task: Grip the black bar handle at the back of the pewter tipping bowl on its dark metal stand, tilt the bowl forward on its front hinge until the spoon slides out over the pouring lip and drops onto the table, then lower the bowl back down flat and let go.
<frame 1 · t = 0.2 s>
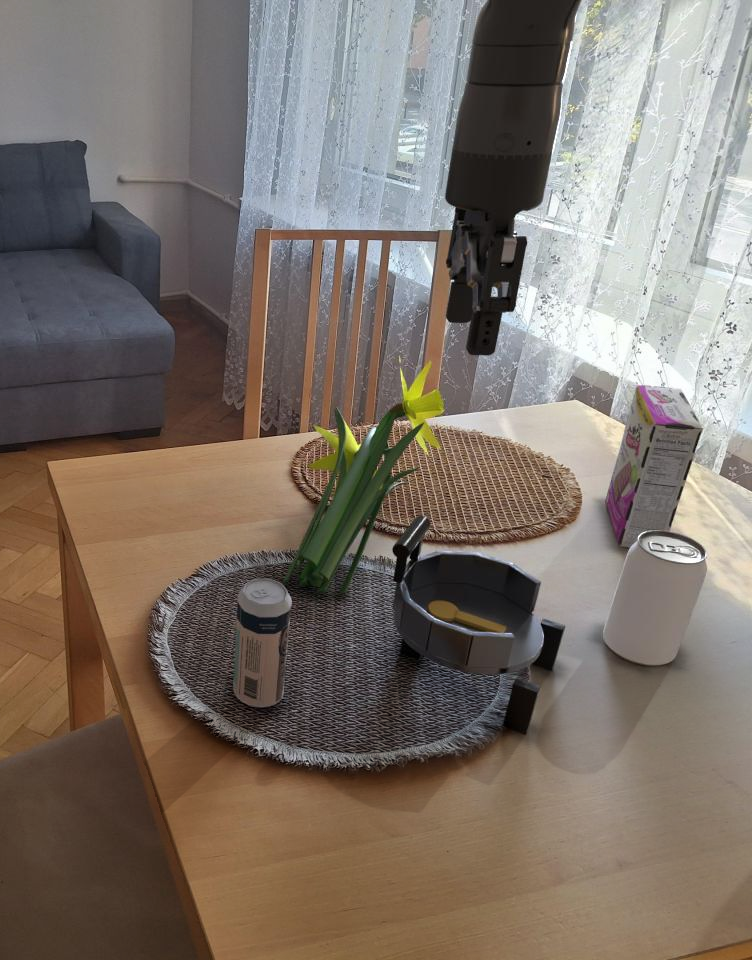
hand: (468, 336, 77), 31 cm above the table, tool pointing down, fingers open, 8 cm apart
bowl stand: (529, 694, 80), on the table
daffodil flowers: (358, 533, 106), on the table
candy bar box: (630, 528, 105), on the table
can: (637, 648, 86), on the table
bowl: (471, 589, 79), point 9 cm above the table, hinge at 0.0°, touching spoon
beer can: (258, 694, 82), on the table
spoon: (467, 620, 81), point 6 cm above the table, touching bowl
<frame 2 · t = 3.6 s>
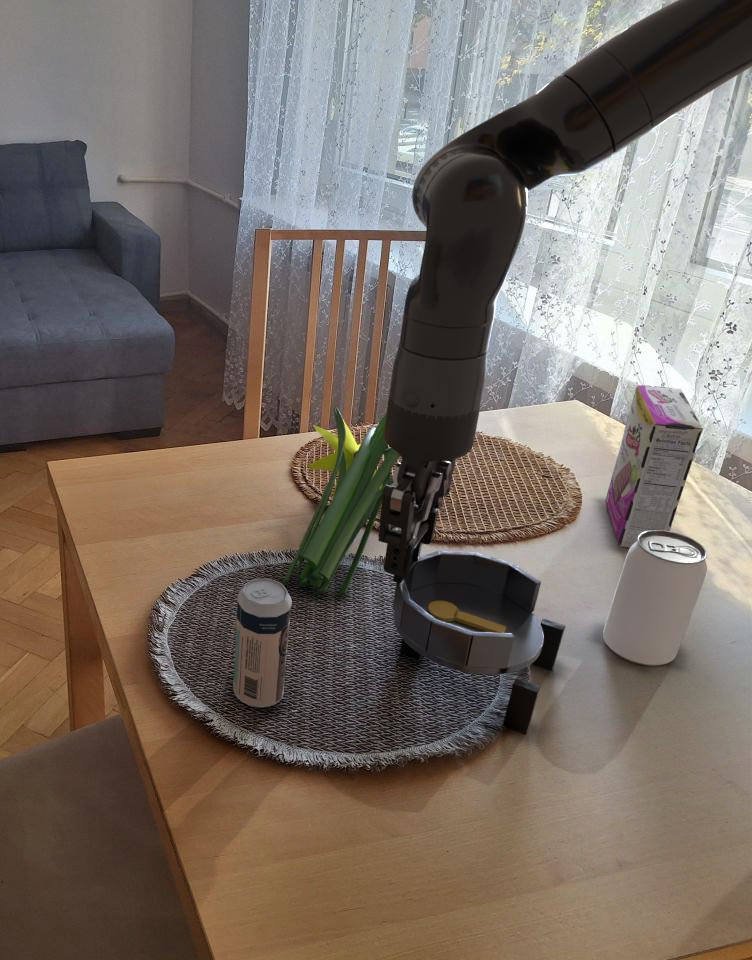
hand: (408, 555, 82), 11 cm above the table, tool pointing down, fingers closed on bowl, 6 cm apart
bowl: (471, 589, 79), point 9 cm above the table, hinge at -0.1°, touching gripper, spoon
everything else where it was.
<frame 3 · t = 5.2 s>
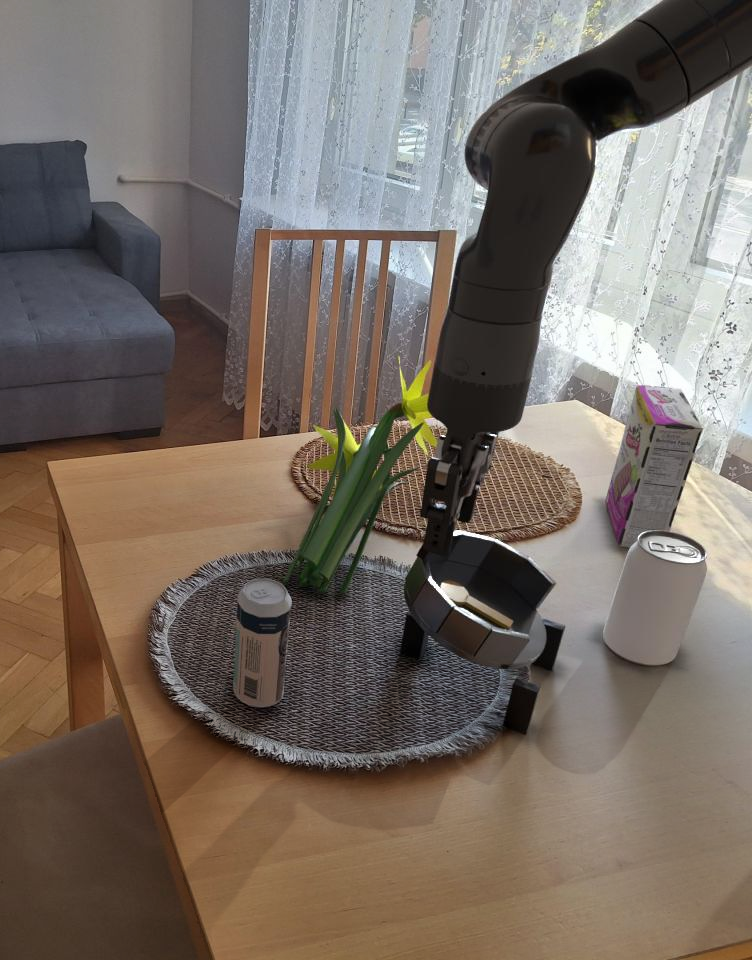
hand: (447, 534, 79), 14 cm above the table, tool pointing down, fingers closed on bowl, 6 cm apart
bowl: (491, 579, 78), point 11 cm above the table, hinge at 16.0°, touching gripper, spoon
spoon: (476, 607, 80), point 8 cm above the table, tilted 16°, touching bowl
everything else where it was.
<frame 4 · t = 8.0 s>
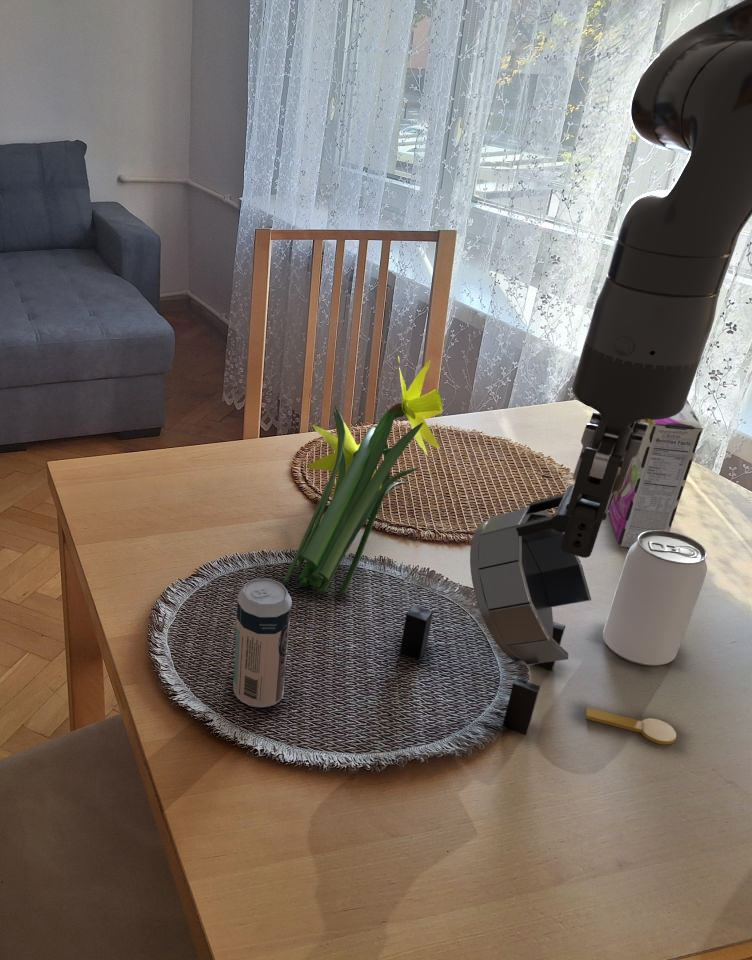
hand: (583, 533, 71), 18 cm above the table, tool pointing down, fingers closed on bowl, 6 cm apart
bowl: (557, 579, 74), point 13 cm above the table, hinge at 55.4°, touching gripper
spoon: (628, 721, 76), on the table, tilted 180°
everything else where it was.
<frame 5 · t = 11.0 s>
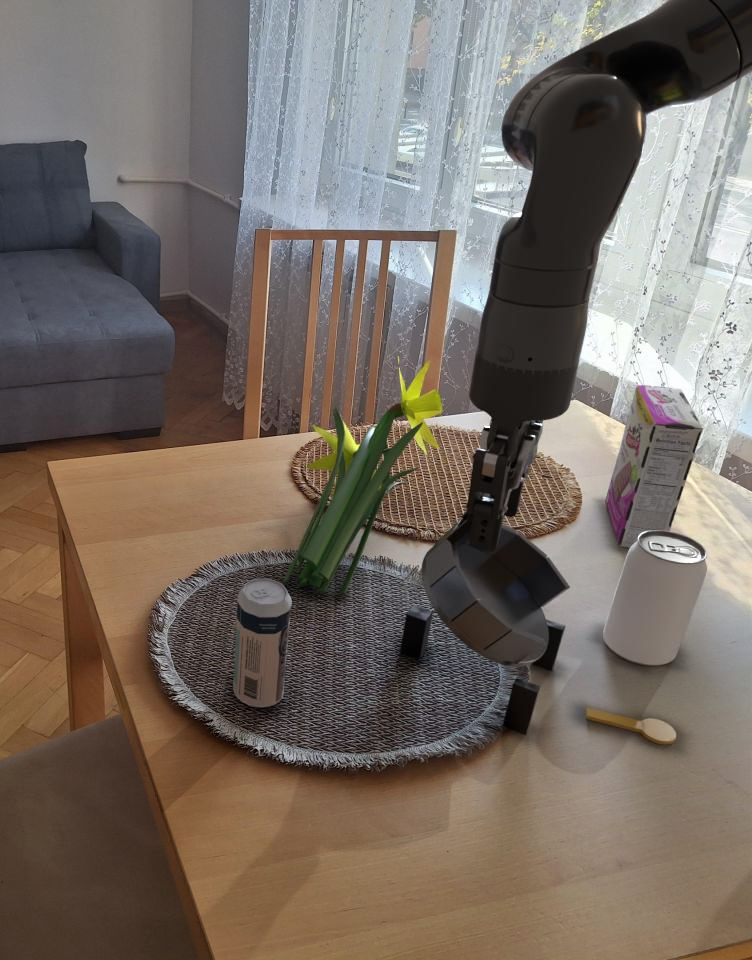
hand: (493, 529, 76), 16 cm above the table, tool pointing down, fingers closed on bowl, 6 cm apart
bowl: (513, 574, 76), point 12 cm above the table, hinge at 30.4°, touching gripper
everything else where it was.
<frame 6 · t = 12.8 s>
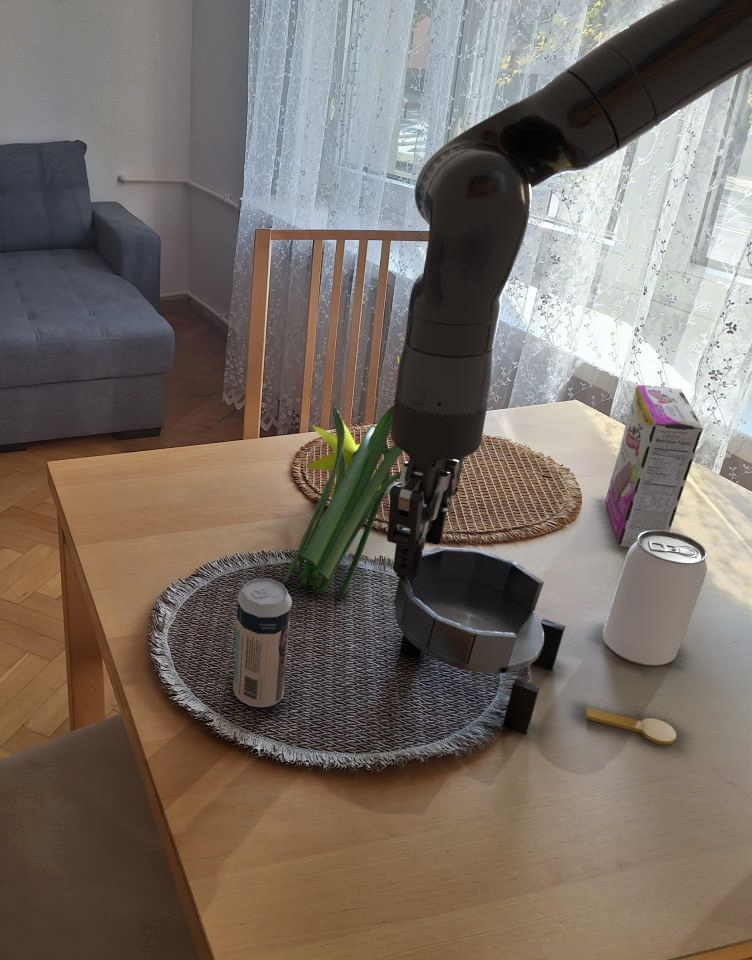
hand: (417, 556, 81), 11 cm above the table, tool pointing down, fingers closed on bowl, 6 cm apart
bowl: (474, 587, 79), point 10 cm above the table, hinge at 2.7°, touching gripper
everything else where it was.
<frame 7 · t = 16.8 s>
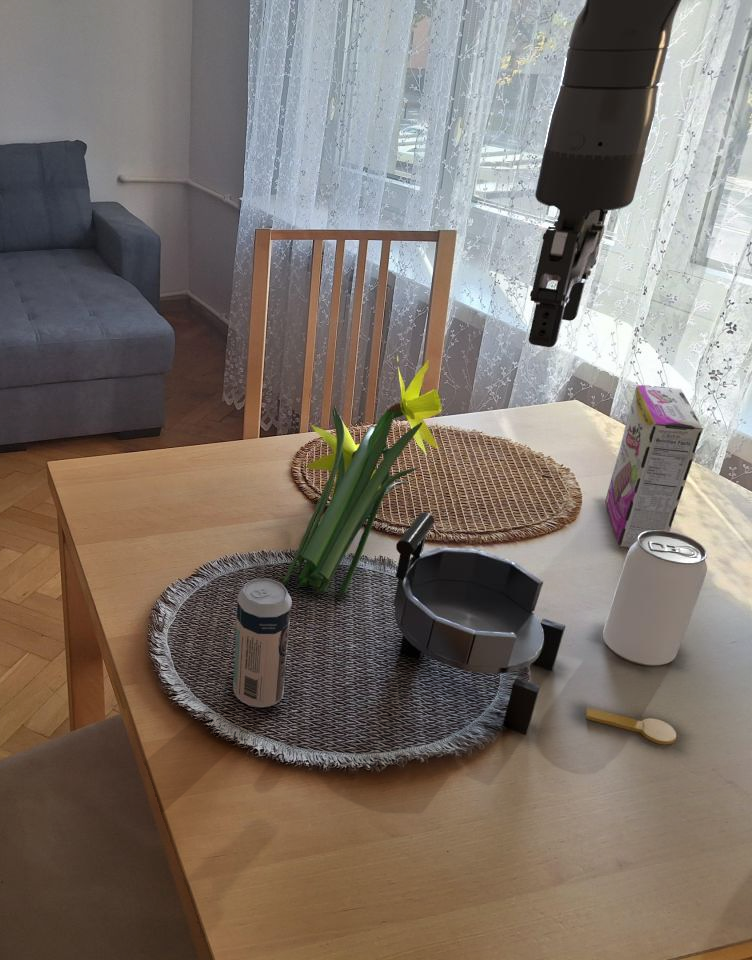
hand: (552, 331, 79), 30 cm above the table, tool pointing down, fingers open, 8 cm apart
bowl: (473, 587, 79), point 10 cm above the table, hinge at 2.1°
everything else where it was.
at the end: bowl reached +56° during the clip, +2° at the end; spoon inside the target area under the bowl (0.8 cm from its centre), point -4.6 cm above the bowl's base; bowl at +2° (first picture: +0°) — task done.
